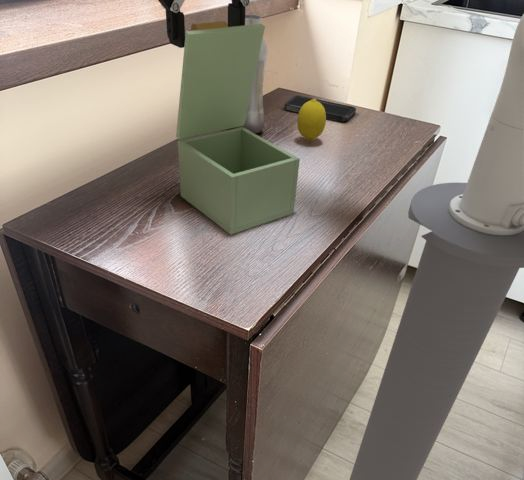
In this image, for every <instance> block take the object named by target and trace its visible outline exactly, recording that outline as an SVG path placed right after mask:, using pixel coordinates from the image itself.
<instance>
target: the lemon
mask: <svg viewBox="0 0 524 480" xmlns="http://www.w3.org/2000/svg"><path fill="white" fill-rule="evenodd" d="M316 99H317V98H314V99H312V100H311V101H308V102H306V103H305V104H304V105H303V106H302V107H301V109H300V111H299V112H298V115H297V122H296V123H297V130H298V132H299V134H300V135H301V136H302V137H303V138H304V139H306V141H307V142H312V141H313V140H315V139H317V138H319V137H320V136H321V135H322V134H323V132H324V130H325V127H326V122H327V119H326V113H325V109H324V107H323V105H322V104H321V103H320V102H318V101H317V100H316Z"/></svg>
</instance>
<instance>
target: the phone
mask: <svg viewBox="0 0 524 480" xmlns="http://www.w3.org/2000/svg"><path fill="white" fill-rule="evenodd" d="M312 99H316V100H317V101H318V102H320V103H321V104H322V105H323V107H324V109H325V113H326V120H330V121H331V120H332V121H336V122H341V123H347V122H348V121H350V120H351V119H352V118H353V117H354V116H355V115H356V113H357V112H356V111H357V107H355V106H351V105H347V104H342V103H337V102H332V101H327V100H323V99H318V98H313V97H309V96H305V95H294V96H293V97H291V98H290V99H288V100H287V101H285V102H284V109H285V110H286V111H290V112H294V113H299V111H300V109H301V107H302V106H303V105H304V104H305V103H306V102H308V101H311V100H312Z"/></svg>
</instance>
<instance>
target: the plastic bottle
mask: <svg viewBox="0 0 524 480" xmlns="http://www.w3.org/2000/svg"><path fill="white" fill-rule="evenodd" d="M255 24H263V18H262V16H261V15H256V14H245V25H255ZM267 61H268V48H267V44H266V42H265V39H264V38H263V39H262V43H261V48H260V53H259V58H258V62H257V67H256V72H255V76H254V81H253V86H252V91H251V95H250V100H249V105H248V110H247V114H246V119H245V124H244V126H239V127H235V128H233V129H236V128H241V127H243V128H245V129H247V130H249V131H251V132H252V133H254V134H256V135H257V134H259V133H260V132H262V130H263V129H264V125H265V110H264V94H263V93H264V82H265V81H264V80H265V72H266V67H267Z"/></svg>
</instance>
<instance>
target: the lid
mask: <svg viewBox="0 0 524 480" xmlns="http://www.w3.org/2000/svg"><path fill="white" fill-rule="evenodd" d="M265 29H266V26H265V25H263V23H262V24H255V25H245V26H235V27H228V22H226V21H225V20H221V21H219V20H218V21H209V22H199V23H192V24H191V26H190V30H187V31H186V30H185V46H184V48H183V59H182V68H181V69H182V70H181V80H180V88H179V89H180V90H179V91H180V92H179V100H178V101H179V102H178V111H177V112H178V113H177V124H176V132H175V133H176V134H175V137H176V138H177V139H178V140H185V139H190V138H194V137H199V136H203V135H208V134H213V133H217V132H222V131H226V130H231V129H234V128H235V127H239V126H244V124H245V119H246V114H247V110H248V105H249V100H250V95H251V91H252V86H253V81H254V76H255V72H256V67H257V62H258V58H259V53H260V48H261V43H262V39H264V34H265Z"/></svg>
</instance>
